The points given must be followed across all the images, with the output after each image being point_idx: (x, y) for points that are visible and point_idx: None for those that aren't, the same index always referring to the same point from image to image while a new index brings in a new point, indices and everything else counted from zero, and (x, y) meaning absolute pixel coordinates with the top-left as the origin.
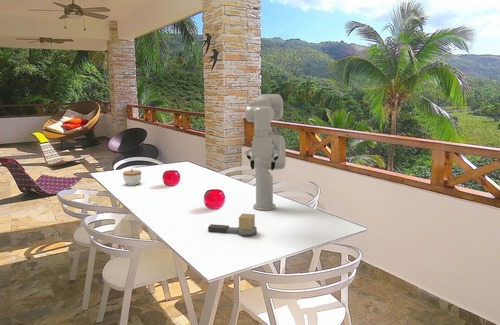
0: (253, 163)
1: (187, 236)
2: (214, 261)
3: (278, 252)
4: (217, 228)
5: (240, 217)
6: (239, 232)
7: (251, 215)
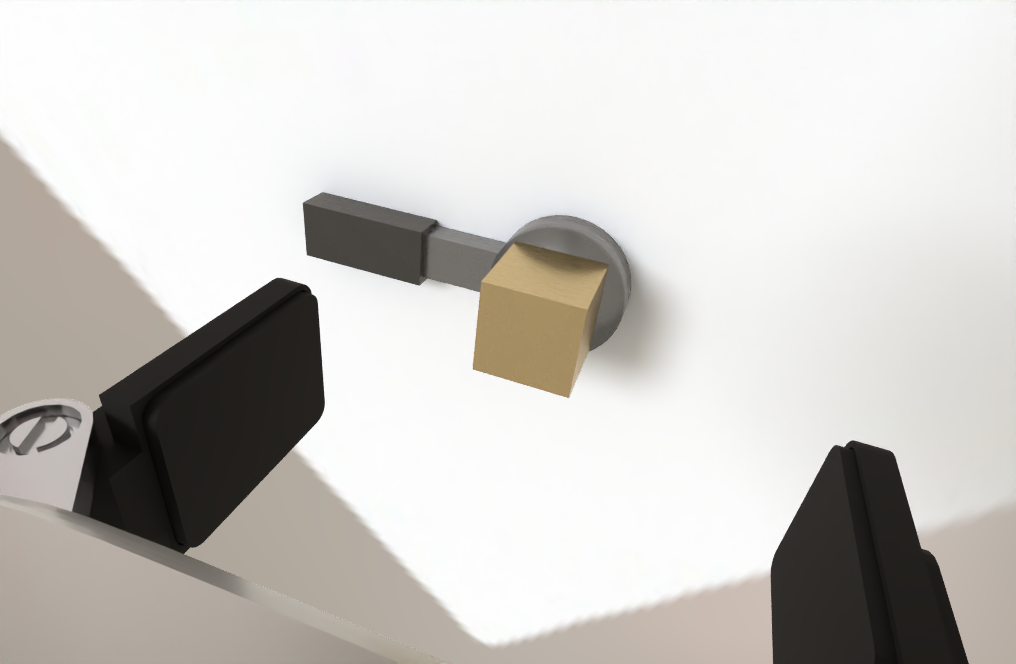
0: (227, 456)
1: None
2: (467, 561)
3: (754, 547)
4: (366, 268)
5: (485, 372)
6: None
7: (562, 336)
